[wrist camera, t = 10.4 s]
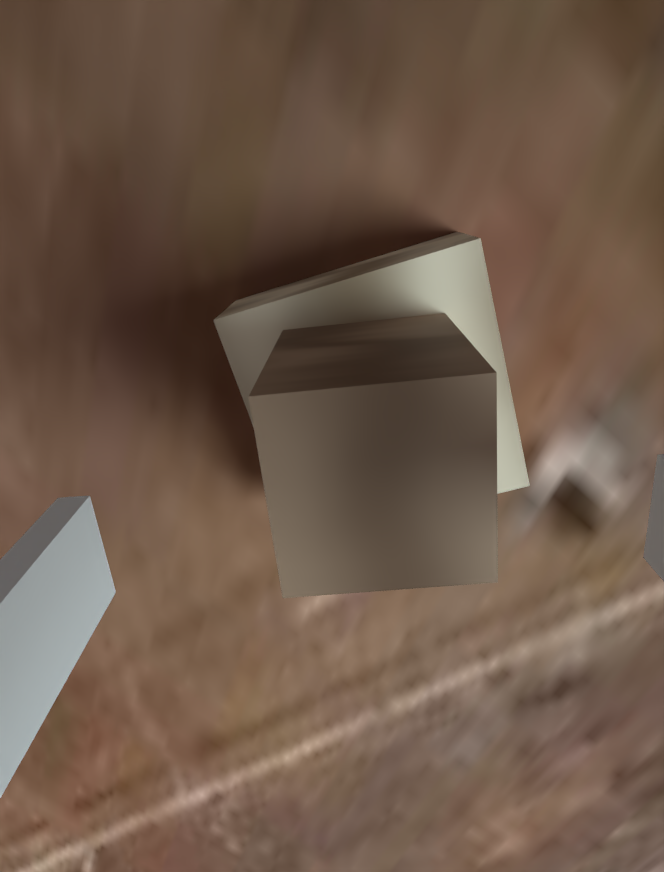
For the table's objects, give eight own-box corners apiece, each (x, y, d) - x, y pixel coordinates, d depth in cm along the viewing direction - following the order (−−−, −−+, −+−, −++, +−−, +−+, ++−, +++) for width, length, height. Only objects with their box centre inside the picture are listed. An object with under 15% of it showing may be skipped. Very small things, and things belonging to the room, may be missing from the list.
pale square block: (305, 489, 30) (297, 543, 25) (237, 299, 26) (213, 320, 22) (500, 439, 28) (529, 485, 24) (455, 231, 25) (480, 238, 20)
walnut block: (303, 475, 24) (282, 598, 16) (282, 330, 22) (248, 396, 14) (450, 462, 24) (497, 582, 16) (445, 313, 21) (496, 372, 14)
